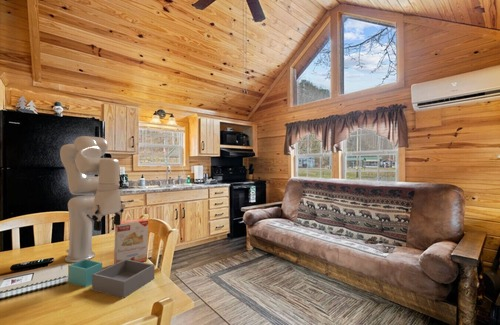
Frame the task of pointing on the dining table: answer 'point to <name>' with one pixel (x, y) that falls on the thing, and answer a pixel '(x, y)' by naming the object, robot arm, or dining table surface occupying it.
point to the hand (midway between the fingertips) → (107, 227)
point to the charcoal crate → (123, 278)
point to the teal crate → (83, 272)
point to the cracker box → (131, 240)
